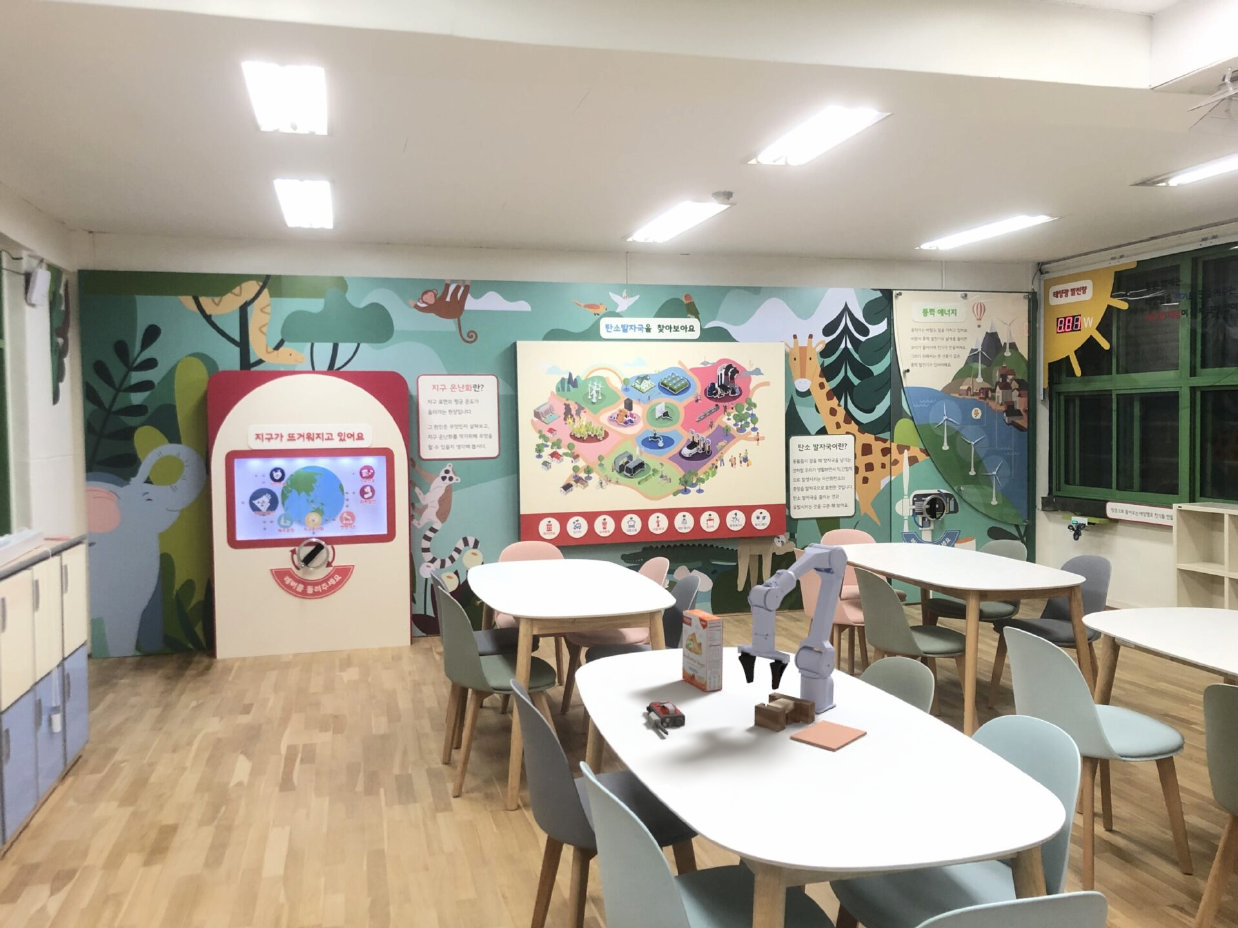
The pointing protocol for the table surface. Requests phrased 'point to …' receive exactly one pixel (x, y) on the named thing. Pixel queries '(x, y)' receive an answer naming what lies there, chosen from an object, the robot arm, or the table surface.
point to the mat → (828, 735)
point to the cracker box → (702, 650)
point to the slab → (783, 704)
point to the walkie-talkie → (664, 715)
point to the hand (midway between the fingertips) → (762, 685)
